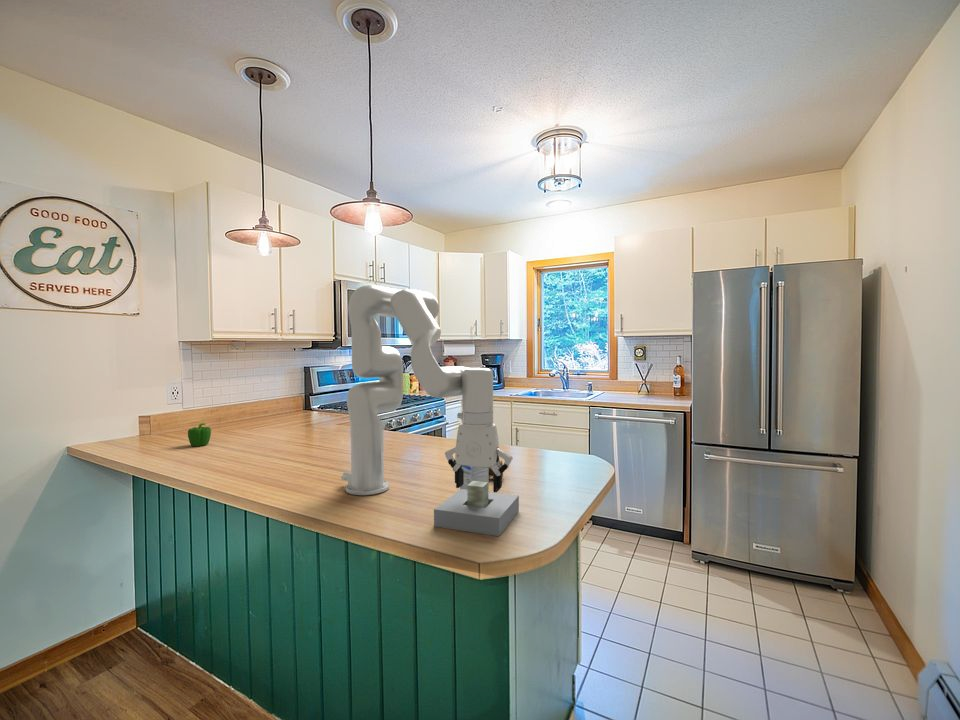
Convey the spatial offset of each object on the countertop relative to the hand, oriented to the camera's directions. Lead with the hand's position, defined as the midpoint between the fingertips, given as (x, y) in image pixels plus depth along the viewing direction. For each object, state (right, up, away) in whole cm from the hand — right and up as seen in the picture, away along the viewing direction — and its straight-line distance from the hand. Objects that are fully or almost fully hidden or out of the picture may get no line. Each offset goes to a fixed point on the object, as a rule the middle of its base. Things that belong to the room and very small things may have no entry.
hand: (478, 488), depth 106 cm
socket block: (0, -7, 0) cm, 7 cm away
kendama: (+4, -7, +37) cm, 38 cm away
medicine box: (-1, -7, +20) cm, 21 cm away
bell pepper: (-123, -7, +85) cm, 150 cm away
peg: (0, -7, 0) cm, 7 cm away
